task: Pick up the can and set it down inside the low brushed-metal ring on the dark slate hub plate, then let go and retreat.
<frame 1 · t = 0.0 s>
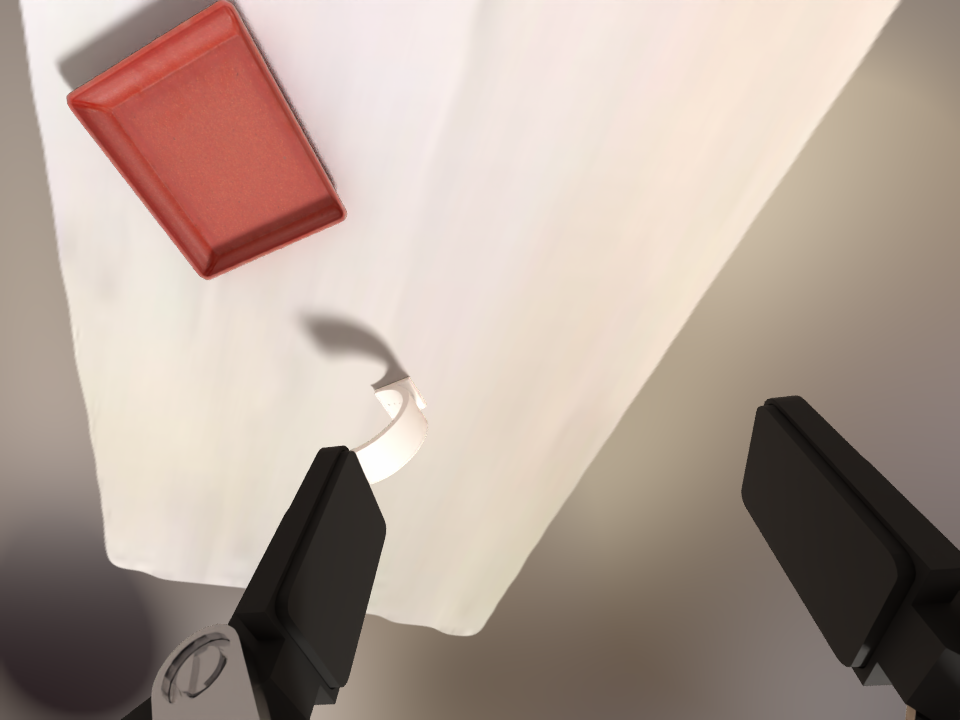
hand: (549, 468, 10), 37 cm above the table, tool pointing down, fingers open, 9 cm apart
plant saucer: (233, 157, 42), on the table
white curved piece: (405, 394, 56), on the table
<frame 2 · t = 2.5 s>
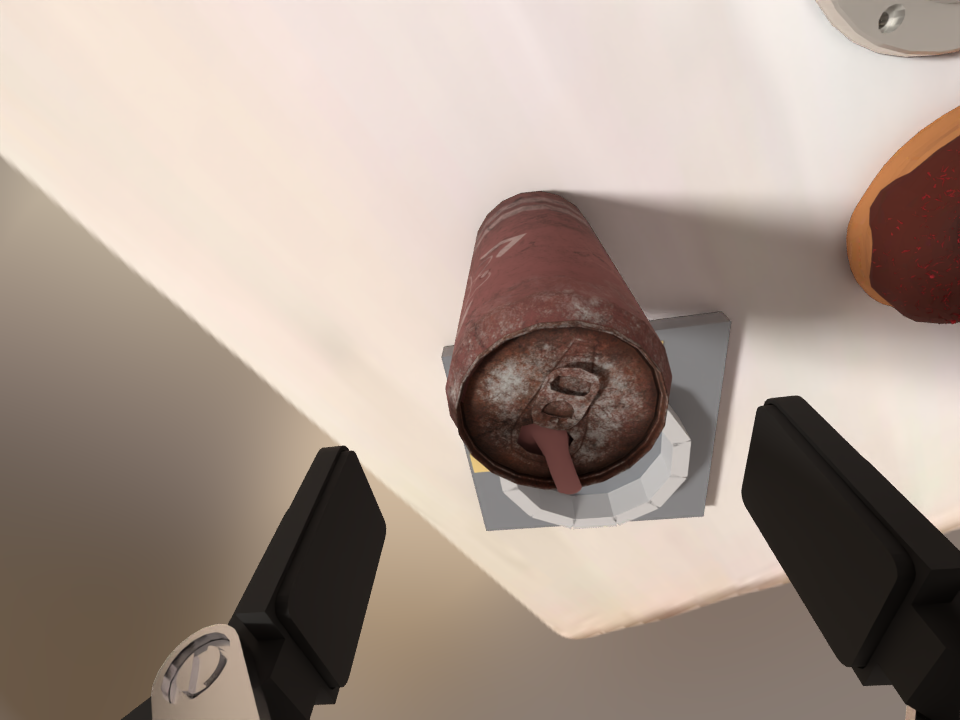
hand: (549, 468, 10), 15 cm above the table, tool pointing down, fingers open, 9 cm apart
donut: (943, 205, 21), on the table
can: (533, 251, 23), on the table
hub: (583, 432, 29), on the table
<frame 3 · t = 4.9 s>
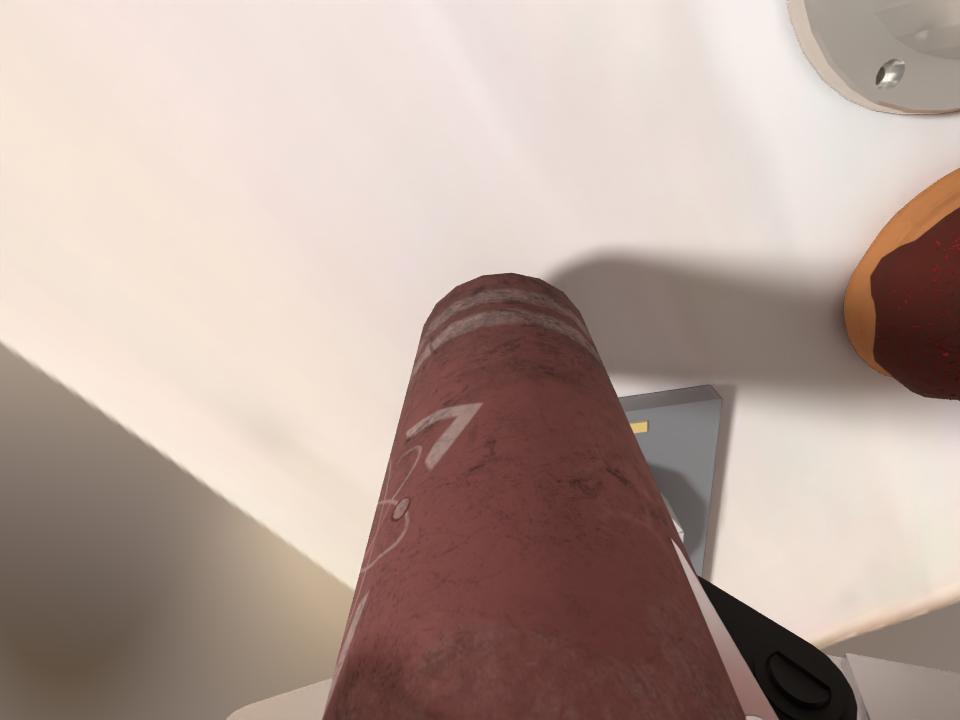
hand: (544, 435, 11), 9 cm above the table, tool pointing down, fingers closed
donut: (943, 268, 19), on the table
can: (504, 345, 17), point 3 cm above the table, touching gripper
hub: (562, 516, 26), on the table
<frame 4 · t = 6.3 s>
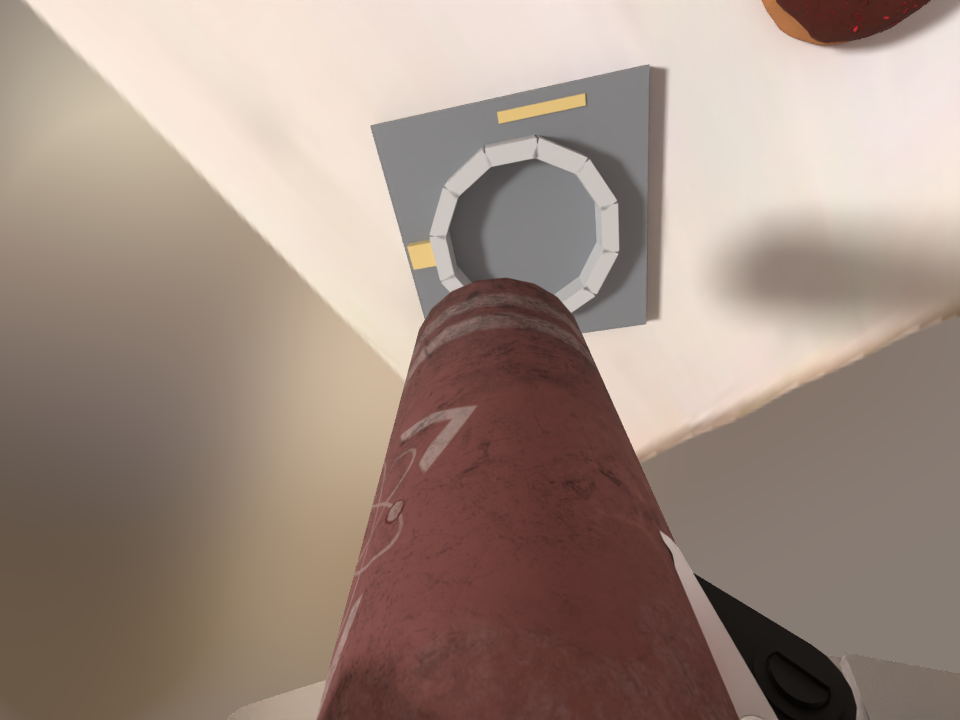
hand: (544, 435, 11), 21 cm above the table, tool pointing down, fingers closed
can: (499, 349, 17), point 16 cm above the table, touching gripper
hub: (522, 230, 30), on the table
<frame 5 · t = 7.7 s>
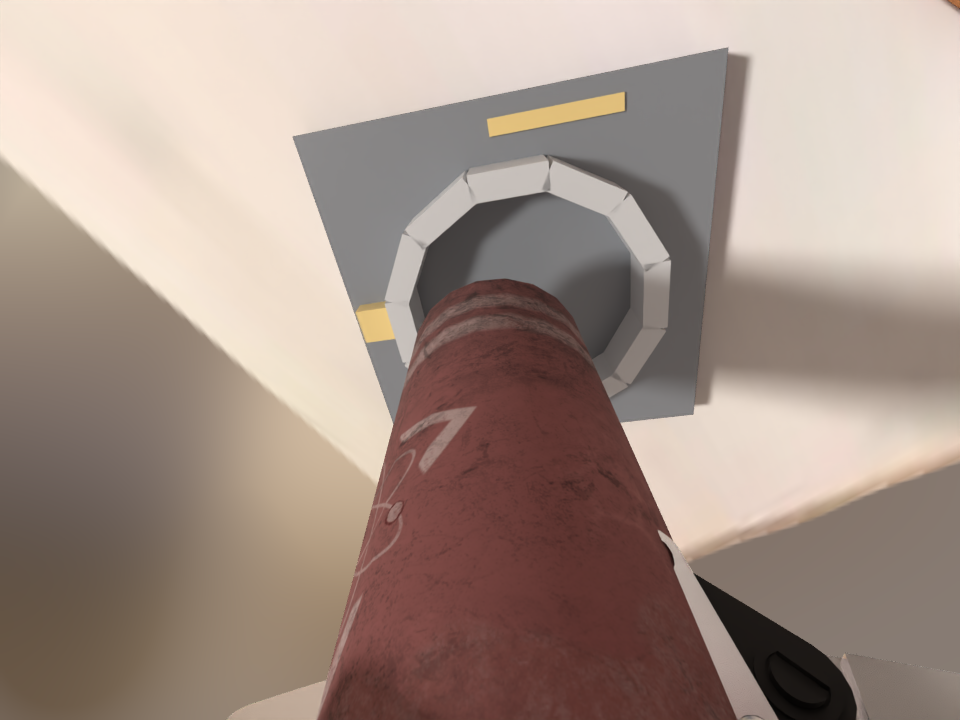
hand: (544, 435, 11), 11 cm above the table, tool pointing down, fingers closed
can: (498, 350, 17), point 5 cm above the table, touching gripper
hub: (522, 287, 21), on the table
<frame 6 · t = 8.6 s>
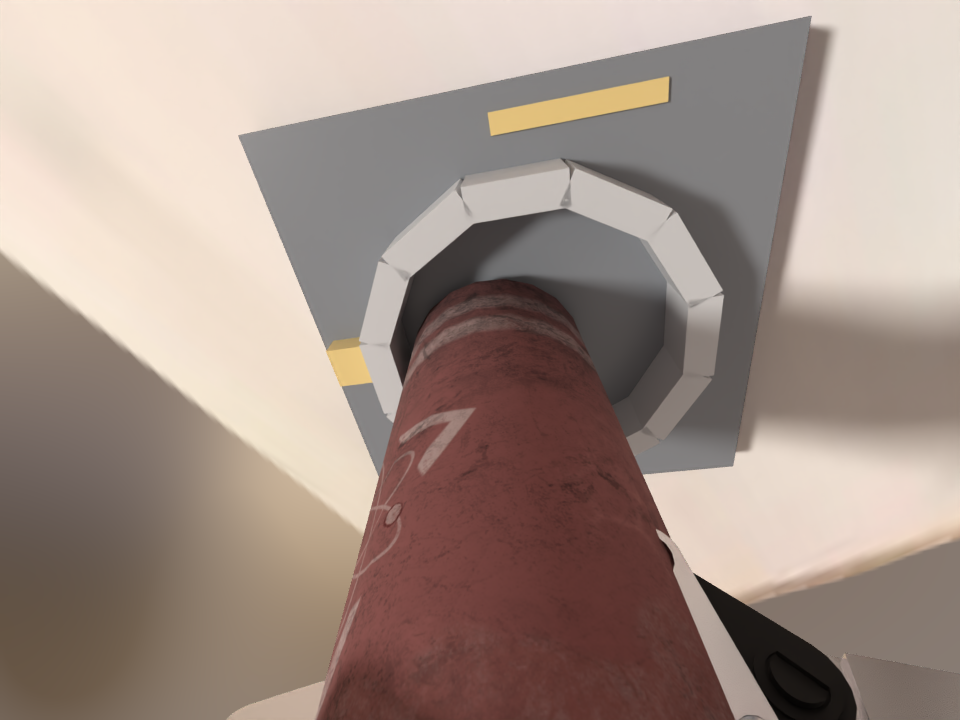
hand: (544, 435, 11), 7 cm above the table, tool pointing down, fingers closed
can: (498, 351, 17), point 1 cm above the table, touching hub
hub: (531, 318, 17), on the table
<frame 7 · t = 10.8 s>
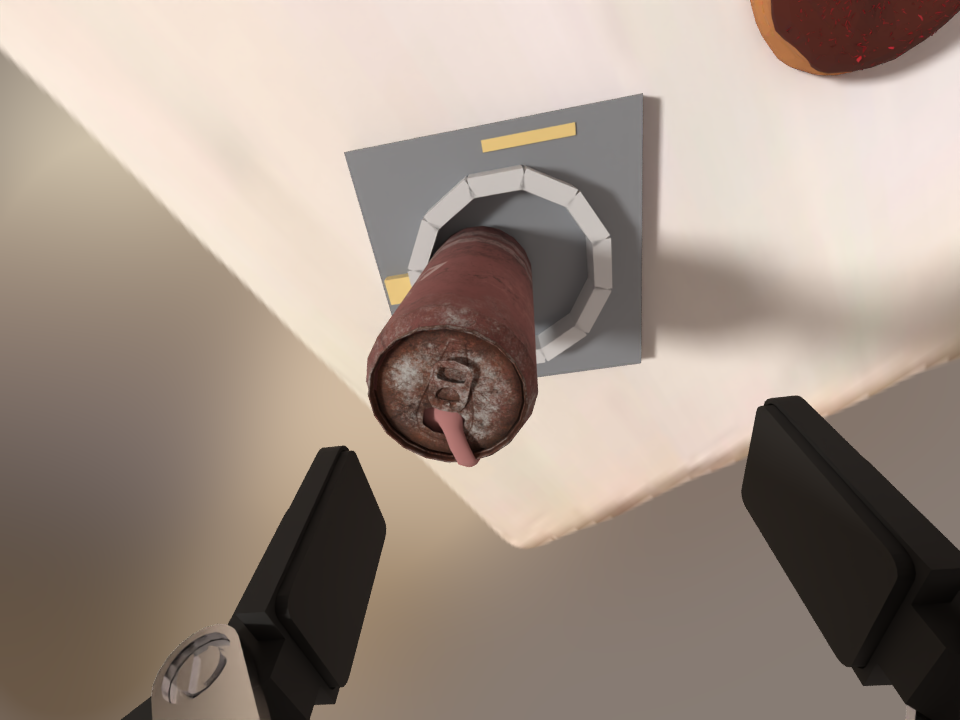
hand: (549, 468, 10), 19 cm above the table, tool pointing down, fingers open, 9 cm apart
can: (483, 275, 27), point 1 cm above the table, touching hub
hub: (508, 263, 28), on the table
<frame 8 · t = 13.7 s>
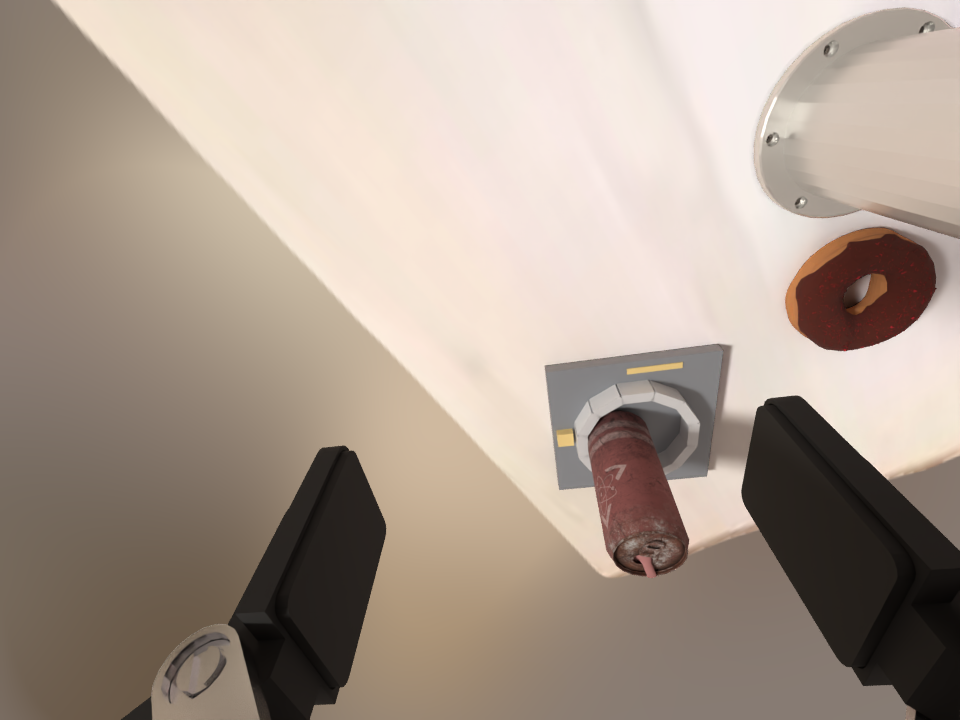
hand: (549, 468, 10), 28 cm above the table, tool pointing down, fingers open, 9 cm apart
donut: (839, 283, 37), on the table
can: (615, 430, 44), point 1 cm above the table, touching hub
hub: (628, 420, 45), on the table
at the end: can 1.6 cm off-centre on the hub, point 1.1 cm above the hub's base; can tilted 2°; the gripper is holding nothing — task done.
